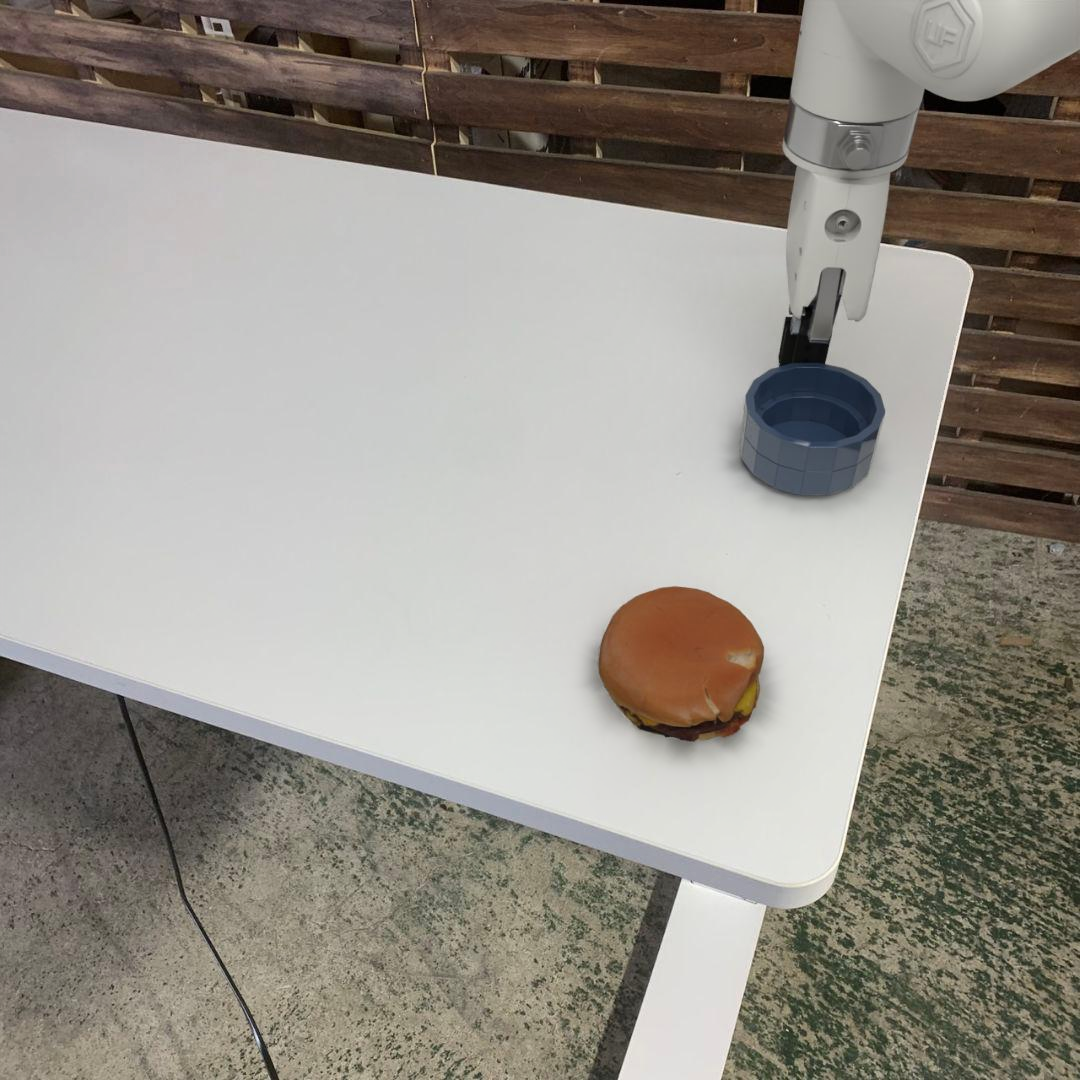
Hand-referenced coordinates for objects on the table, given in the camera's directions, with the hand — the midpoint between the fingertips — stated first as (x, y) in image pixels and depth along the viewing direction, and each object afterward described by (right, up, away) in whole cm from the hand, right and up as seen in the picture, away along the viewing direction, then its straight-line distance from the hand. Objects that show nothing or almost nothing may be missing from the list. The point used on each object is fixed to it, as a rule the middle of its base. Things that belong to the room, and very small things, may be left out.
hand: (799, 368), depth 72 cm
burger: (-11, -21, -15) cm, 28 cm away
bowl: (0, -7, -2) cm, 7 cm away
